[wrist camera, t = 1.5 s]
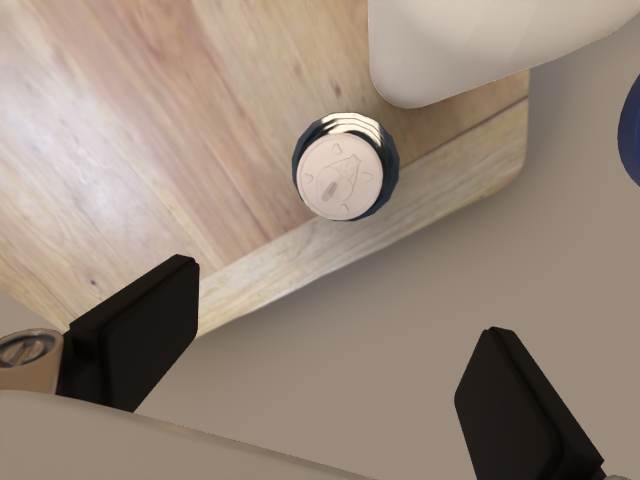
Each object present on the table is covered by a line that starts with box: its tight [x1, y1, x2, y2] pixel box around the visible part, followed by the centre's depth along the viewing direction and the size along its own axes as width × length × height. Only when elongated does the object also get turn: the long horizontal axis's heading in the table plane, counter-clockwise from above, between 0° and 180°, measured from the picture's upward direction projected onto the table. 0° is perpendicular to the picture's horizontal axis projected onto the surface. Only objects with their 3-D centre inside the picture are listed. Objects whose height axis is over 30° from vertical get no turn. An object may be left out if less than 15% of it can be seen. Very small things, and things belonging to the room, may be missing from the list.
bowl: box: [292, 112, 399, 221], centre depth 30 cm, size 9×9×5 cm
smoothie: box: [297, 133, 383, 220], centre depth 25 cm, size 6×6×14 cm
